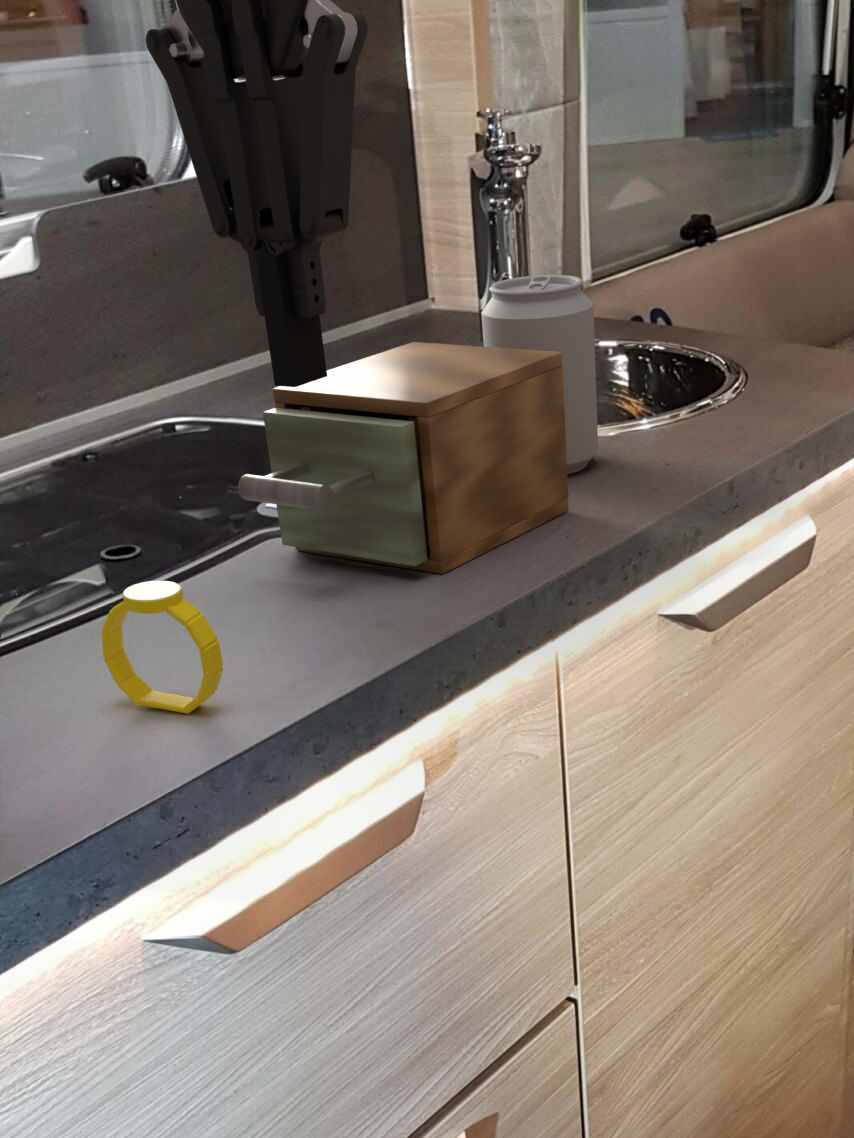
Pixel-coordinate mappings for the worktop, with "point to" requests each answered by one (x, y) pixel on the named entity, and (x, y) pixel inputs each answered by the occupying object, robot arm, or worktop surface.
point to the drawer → (345, 483)
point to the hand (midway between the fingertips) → (301, 380)
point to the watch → (171, 600)
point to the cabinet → (464, 437)
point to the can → (552, 345)
